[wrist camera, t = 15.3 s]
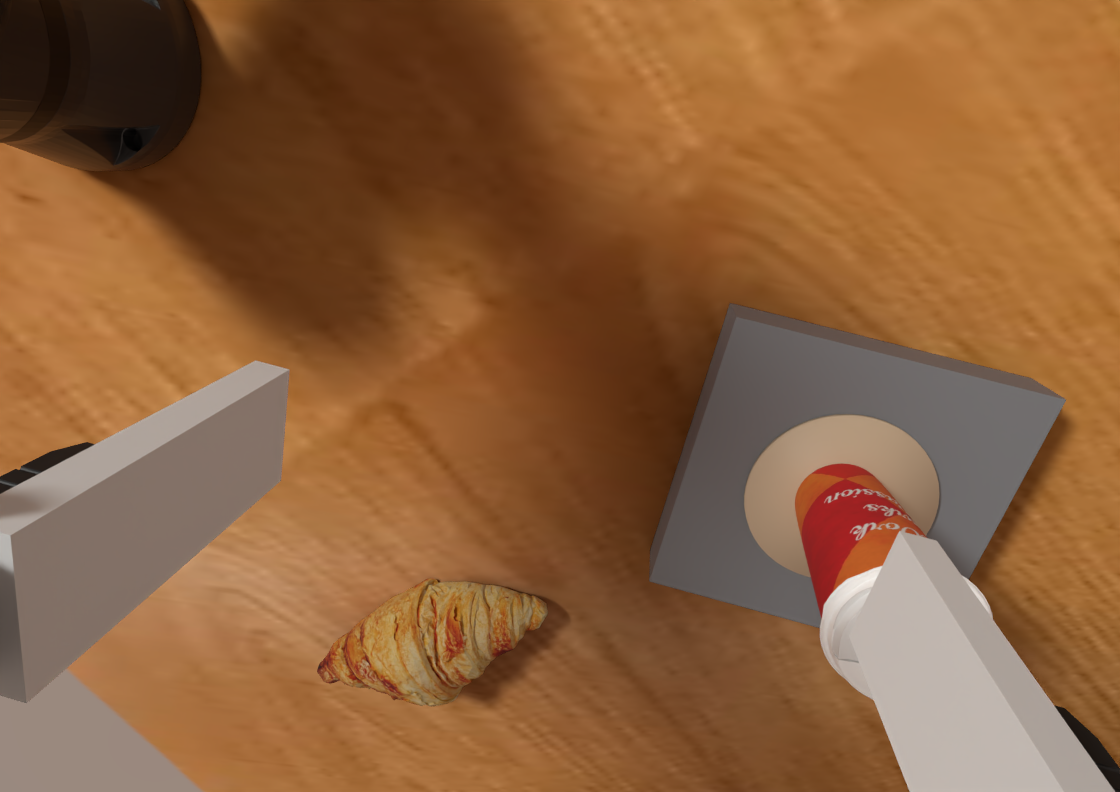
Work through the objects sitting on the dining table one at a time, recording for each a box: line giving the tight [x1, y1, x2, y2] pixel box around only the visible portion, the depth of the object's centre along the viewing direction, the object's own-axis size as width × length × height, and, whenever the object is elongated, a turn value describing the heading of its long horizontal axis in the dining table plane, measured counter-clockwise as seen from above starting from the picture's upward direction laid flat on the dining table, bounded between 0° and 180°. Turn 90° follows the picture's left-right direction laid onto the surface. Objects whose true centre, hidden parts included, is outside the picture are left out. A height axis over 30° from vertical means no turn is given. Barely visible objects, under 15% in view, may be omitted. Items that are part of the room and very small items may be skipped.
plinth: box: [649, 303, 1066, 628], centre depth 46 cm, size 20×20×4 cm
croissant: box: [317, 579, 548, 706], centre depth 55 cm, size 21×10×8 cm, turn 114°
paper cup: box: [795, 464, 993, 700], centre depth 37 cm, size 8×8×14 cm
